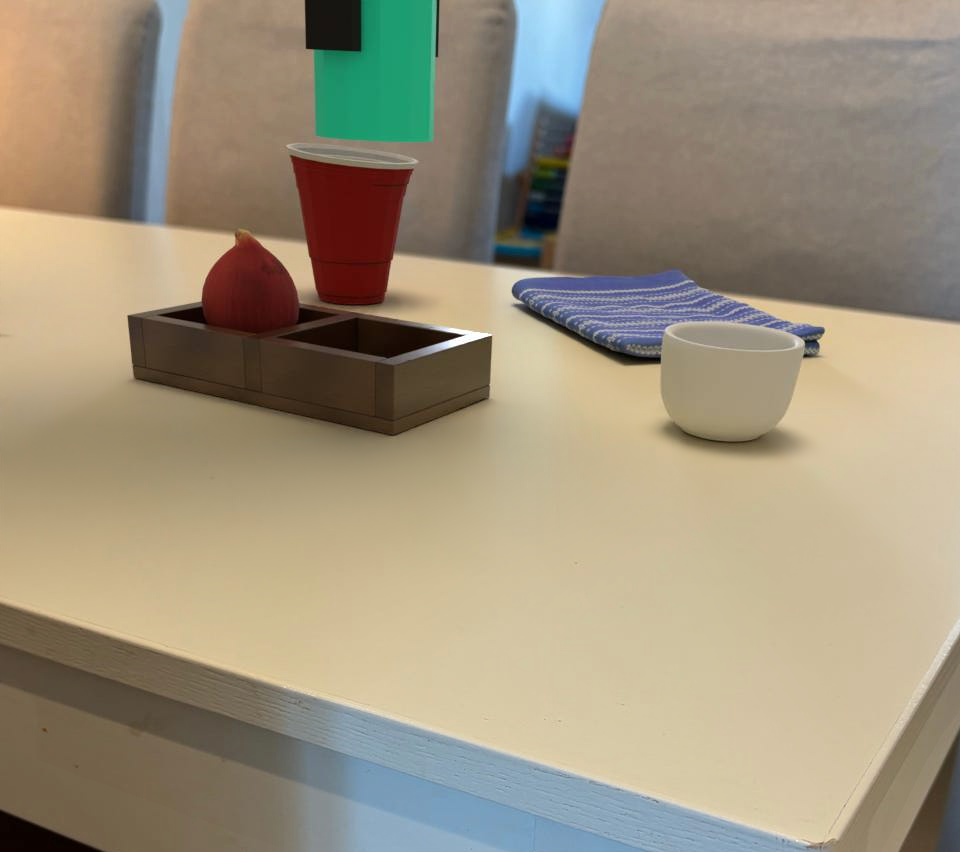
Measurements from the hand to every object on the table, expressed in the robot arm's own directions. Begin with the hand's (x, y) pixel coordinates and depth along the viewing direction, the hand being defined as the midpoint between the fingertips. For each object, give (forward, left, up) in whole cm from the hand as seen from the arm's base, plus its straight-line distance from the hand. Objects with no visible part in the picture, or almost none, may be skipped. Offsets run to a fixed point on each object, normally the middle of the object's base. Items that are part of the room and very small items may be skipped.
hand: (374, 52), depth 54 cm
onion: (-11, +3, -18) cm, 21 cm away
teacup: (+16, +11, -19) cm, 27 cm away
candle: (0, 0, -4) cm, 4 cm away
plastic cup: (-23, +29, -19) cm, 41 cm away
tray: (-7, +3, -18) cm, 20 cm away
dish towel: (+2, +36, -19) cm, 40 cm away
